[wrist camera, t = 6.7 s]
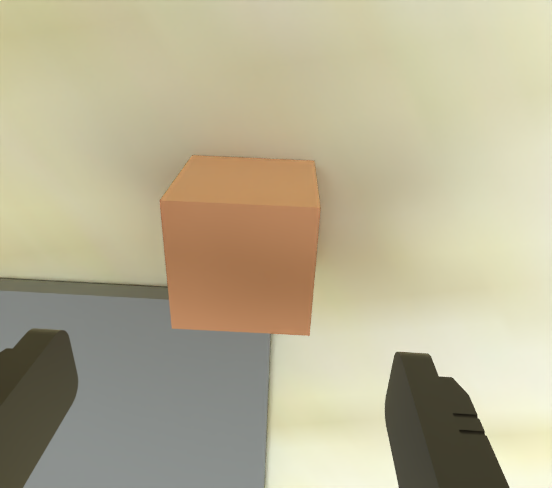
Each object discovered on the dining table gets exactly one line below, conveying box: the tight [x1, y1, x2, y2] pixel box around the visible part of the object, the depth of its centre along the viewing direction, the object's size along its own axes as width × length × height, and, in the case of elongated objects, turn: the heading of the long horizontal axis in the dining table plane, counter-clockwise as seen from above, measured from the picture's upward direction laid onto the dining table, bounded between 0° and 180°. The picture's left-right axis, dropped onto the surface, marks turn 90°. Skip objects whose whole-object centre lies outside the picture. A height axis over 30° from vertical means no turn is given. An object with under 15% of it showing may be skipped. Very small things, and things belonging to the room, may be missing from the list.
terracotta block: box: [160, 155, 320, 336], centre depth 17 cm, size 5×5×5 cm
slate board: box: [0, 278, 271, 488], centre depth 24 cm, size 18×16×1 cm
